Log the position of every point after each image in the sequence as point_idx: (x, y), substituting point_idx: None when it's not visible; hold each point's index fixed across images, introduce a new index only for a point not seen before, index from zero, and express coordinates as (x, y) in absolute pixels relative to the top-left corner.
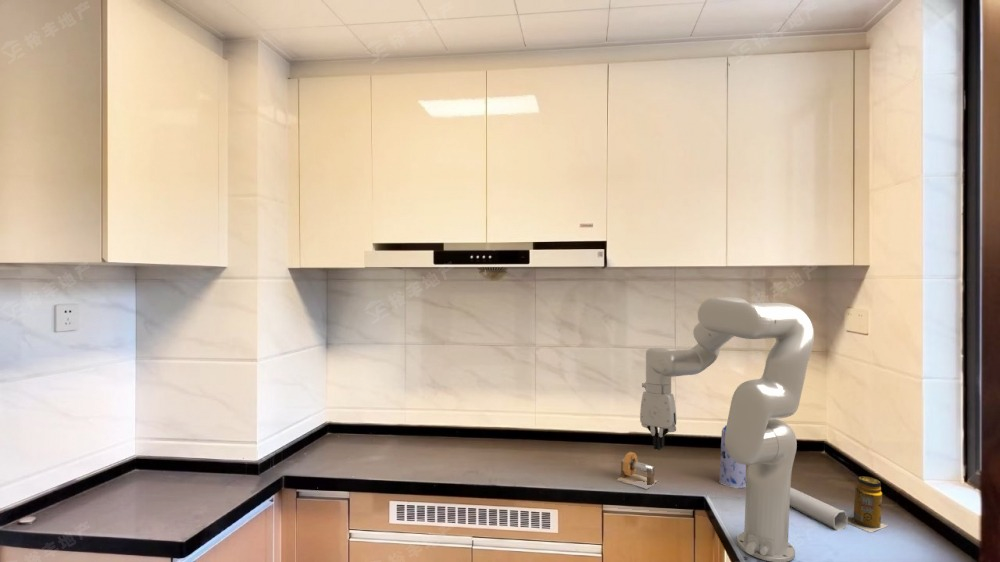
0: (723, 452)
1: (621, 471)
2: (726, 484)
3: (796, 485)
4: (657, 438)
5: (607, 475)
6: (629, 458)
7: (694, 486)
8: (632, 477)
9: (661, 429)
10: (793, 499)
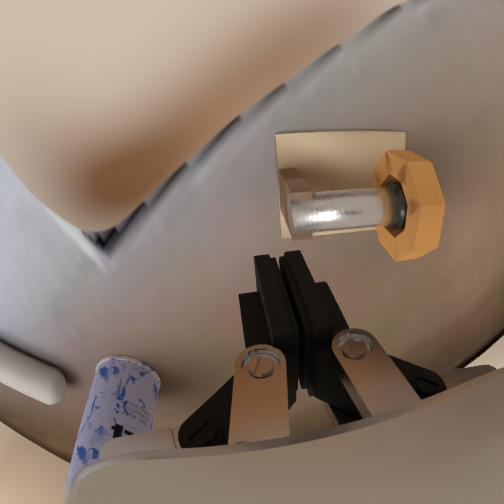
0: None
1: None
2: (122, 360)
3: (70, 421)
4: (285, 318)
5: (443, 155)
6: (418, 186)
7: (171, 299)
8: None
9: (255, 429)
10: None
